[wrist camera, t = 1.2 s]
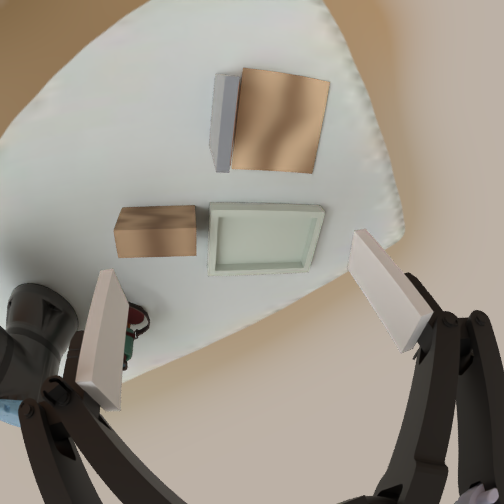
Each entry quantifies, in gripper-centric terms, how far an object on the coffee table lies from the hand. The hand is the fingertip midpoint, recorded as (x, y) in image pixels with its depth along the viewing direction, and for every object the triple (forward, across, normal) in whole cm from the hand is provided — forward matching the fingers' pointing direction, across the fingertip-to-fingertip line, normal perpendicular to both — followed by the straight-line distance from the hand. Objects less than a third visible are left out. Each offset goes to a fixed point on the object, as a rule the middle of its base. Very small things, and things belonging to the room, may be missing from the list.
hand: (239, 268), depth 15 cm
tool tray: (+24, +6, -15) cm, 28 cm away
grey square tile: (+24, +2, +4) cm, 24 cm away
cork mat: (+24, +9, +2) cm, 25 cm away
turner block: (+24, -8, -9) cm, 27 cm away
